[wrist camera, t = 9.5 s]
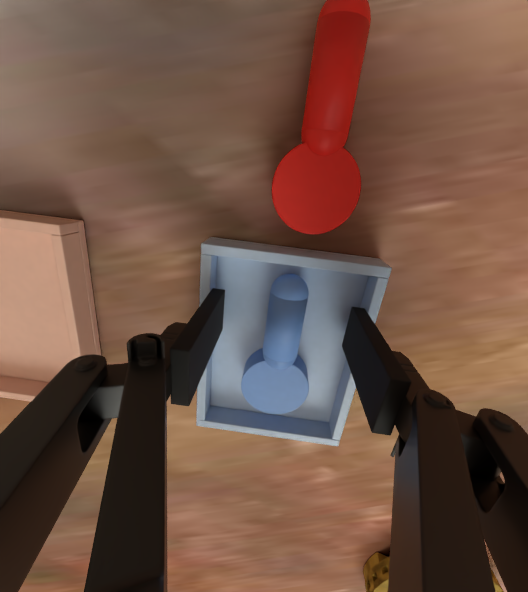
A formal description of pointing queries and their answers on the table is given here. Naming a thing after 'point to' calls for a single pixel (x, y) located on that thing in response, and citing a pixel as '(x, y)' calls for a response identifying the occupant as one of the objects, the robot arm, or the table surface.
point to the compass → (379, 574)
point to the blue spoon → (279, 352)
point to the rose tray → (43, 301)
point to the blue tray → (313, 343)
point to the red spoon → (326, 126)
